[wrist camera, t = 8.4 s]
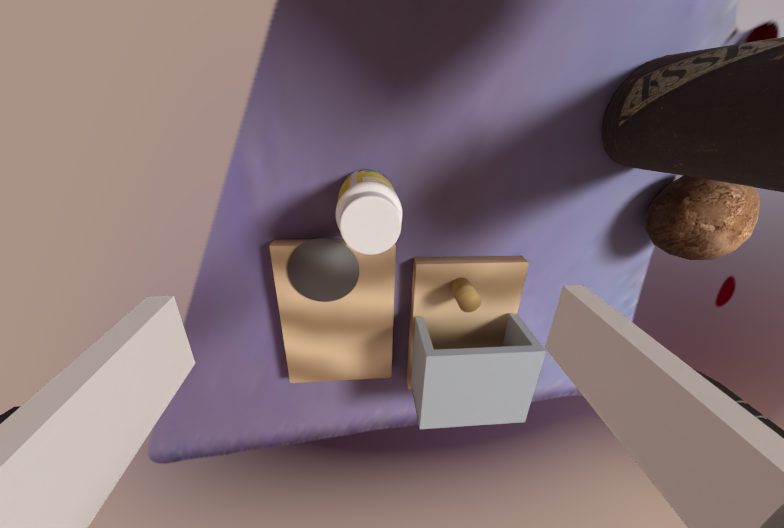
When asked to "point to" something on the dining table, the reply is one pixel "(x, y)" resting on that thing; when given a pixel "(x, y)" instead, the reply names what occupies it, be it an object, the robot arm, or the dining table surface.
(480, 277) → the pattern board
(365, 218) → the supplement bottle
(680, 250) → the mushroom
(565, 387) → the dining table surface
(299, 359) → the board
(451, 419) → the cover
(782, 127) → the container
